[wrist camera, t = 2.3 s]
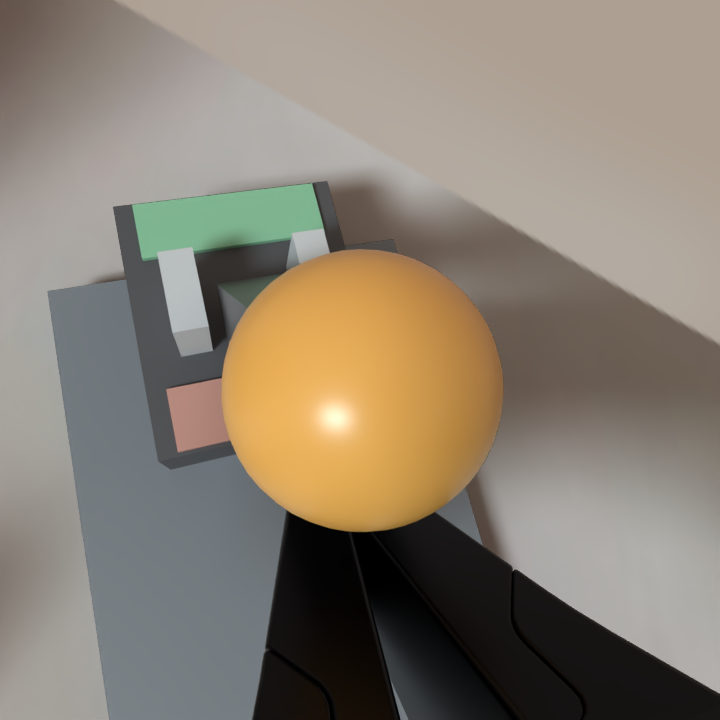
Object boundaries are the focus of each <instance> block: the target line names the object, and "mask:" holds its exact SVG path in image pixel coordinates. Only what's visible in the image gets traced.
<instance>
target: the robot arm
mask: <svg viewBox="0 0 720 720" xmlns="http://www.w3.org/2000/svg"><path fill="white" fill-rule="evenodd" d="M390 679H391V680H390ZM391 682H392V684H393V686H394V688H395V691H396V693H397V695H398V697H399V700H400V702H401V704H402V706H403V709H404V711H405V713H406V715H407V718H408V720H720V694H719V693H717V692H716V691H714V690H712V689H710V688H708V687H707V686H705V685H703V684H702V683H700V682H698V681H696V680H695V679H693V678H691V677H689V676H688V675H686V674H684V673H682V672H681V671H679V670H677V669H676V668H674V667H672V666H670V665H669V664H667V663H665V662H663V661H662V660H660V659H658V658H656V657H655V656H653V655H651V654H650V653H648V652H646V651H644V650H643V649H641V648H639V647H637V646H636V645H634V644H632V643H631V642H629V641H627V640H625V639H624V638H622V637H620V636H618V635H617V634H615V633H613V632H612V631H610V630H608V629H607V628H605V627H603V626H602V625H600V624H598V623H597V622H595V621H593V620H592V619H590V618H589V617H587V616H585V615H584V614H582V613H580V612H579V611H577V610H575V609H574V608H572V607H571V606H569V605H568V604H566V603H565V602H563V601H562V600H560V599H559V598H557V597H556V596H554V595H553V594H551V593H550V592H548V591H547V590H545V589H544V588H542V587H541V586H539V585H538V584H537V583H535V582H534V581H532V580H531V579H530V578H528V577H527V576H525V575H524V574H522V573H521V572H520V571H518V570H514V571H513V568H512V566H511V565H509V564H508V563H507V562H505V561H504V560H502V559H501V558H500V557H498V556H497V555H495V554H494V553H492V552H491V551H490V550H488V549H487V548H485V547H484V546H483V545H481V544H480V543H478V542H477V541H476V540H474V539H473V538H471V537H470V536H469V535H467V534H466V533H464V532H463V531H461V530H460V529H459V528H457V527H456V526H454V525H453V524H452V523H450V522H449V521H447V520H446V519H445V518H443V517H442V516H440V515H439V514H438V513H436V512H434V513H432V514H430V515H428V516H426V517H424V518H422V519H420V520H418V521H416V522H413V523H410V524H408V525H405V526H402V527H398V528H393V529H389V530H382V531H372V532H351V531H342V530H336V529H330V528H327V527H324V526H321V525H318V524H315V523H312V522H309V521H307V520H305V519H303V518H300V517H298V516H296V515H294V514H292V513H291V512H289V511H288V510H286V515H285V521H284V528H283V534H282V541H281V547H280V553H279V560H278V566H277V573H276V579H275V585H274V592H273V598H272V605H271V611H270V618H269V624H268V630H267V637H266V643H265V652H264V654H263V660H262V666H261V673H260V679H259V684H258V690H257V695H256V700H255V705H254V711H253V716H252V720H401V719H400V715H399V711H398V707H397V703H396V699H395V696H394V692H393V688H392V684H391Z"/></svg>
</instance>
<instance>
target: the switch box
mask: <svg viewBox="0 0 720 720" xmlns="http://www.w3.org/2000/svg"><path fill="white" fill-rule="evenodd" d="M113 209H114V215H115V221H116V226H117V232H118V238H119V243H120V249H121V255H122V260H123V266H124V272H125V277H126V279H124V280H118V281H111V282H105V283H98V284H91V285H85V286H78V287H71V288H65V289H58V290H52V291H48V298H49V305H50V312H51V319H52V326H53V332H54V339H55V346H56V353H57V360H58V367H59V374H60V381H61V388H62V395H63V402H64V409H65V416H66V423H67V430H68V437H69V444H70V450H71V457H72V464H73V471H74V478H75V485H76V492H77V499H78V506H79V513H80V520H81V527H82V534H83V541H84V548H85V555H86V561H87V568H88V575H89V582H90V589H91V596H92V603H93V610H94V617H95V624H96V631H97V638H98V645H99V652H100V659H101V666H102V673H103V679H104V686H105V693H106V700H107V707H108V714H109V720H252V716H253V711H254V705H255V700H256V695H257V690H258V684H259V679H260V673H261V666H262V660H263V654H264V652H265V643H266V637H267V630H268V624H269V618H270V611H271V605H272V598H273V592H274V585H275V579H276V573H277V566H278V560H279V553H280V547H281V541H282V534H283V528H284V521H285V515H286V509H285V508H283V507H282V506H280V505H279V504H277V503H276V502H275V501H274V500H273V499H272V498H271V497H269V496H268V495H267V494H266V493H265V492H264V491H263V490H262V489H260V488H259V486H258V485H257V484H256V483H255V482H254V481H253V479H252V478H251V477H250V476H249V475H248V473H247V472H246V470H245V468H244V467H243V465H242V463H241V462H240V460H239V459H238V456H237V454H236V452H235V450H234V448H233V445H232V443H231V441H230V439H229V436H228V432H227V429H226V425H225V422H224V417H223V409H222V402H221V382H222V373H223V366H224V360H225V356H226V353H227V349H228V341H227V336H226V331H225V325H224V320H223V315H222V310H221V305H220V300H219V295H218V290H217V285H216V284H219V283H225V282H231V281H238V280H244V279H250V278H256V277H263V276H269V275H275V274H283V273H285V272H286V271H288V270H290V269H291V268H293V267H295V266H297V265H299V264H301V263H303V262H305V261H308V260H310V259H313V258H316V257H318V256H321V255H324V254H329V253H333V252H337V251H342V250H355V249H367V250H380V251H386V252H391V253H396V254H398V253H397V250H396V247H395V243H394V240H393V239H390V240H383V241H376V242H370V243H363V244H357V245H350V246H344V242H343V239H342V235H341V231H340V228H339V224H338V220H337V217H336V213H335V209H334V205H333V202H332V198H331V194H330V191H329V187H328V183H327V181H324V182H316V183H308V184H299V185H291V186H283V187H274V188H266V189H258V190H249V191H241V192H232V193H224V194H216V195H207V196H199V197H191V198H182V199H174V200H166V201H157V202H149V203H141V204H132V205H124V206H115V207H113ZM435 512H436V513H438V514H439V515H440V516H442V517H443V518H445V519H446V520H447V521H449V522H450V523H452V524H453V525H454V526H456V527H457V528H459V529H460V530H461V531H463V532H464V533H466V534H467V535H469V536H470V537H471V538H473V539H474V540H476V541H477V542H478V543H480V544H481V545H483V544H482V541H481V538H480V534H479V531H478V527H477V524H476V520H475V517H474V514H473V510H472V507H471V503H470V500H469V496H468V493H467V490H466V487H465V488H464V489H463V490H462V491H461V492H460V493H459V494H458V495H457V496H456V497H454V498H453V499H452V500H451V501H450V502H448V503H447V504H446V505H444V506H443V507H441V508H440V509H438V510H437V511H435ZM390 680H391V679H390ZM391 684H392V682H391ZM392 688H393V692H394V696H395V699H396V703H397V707H398V711H399V715H400V719H401V720H408V718H407V715H406V713H405V711H404V709H403V706H402V704H401V702H400V700H399V697H398V695H397V693H396V691H395V688H394V686H393V684H392Z"/></svg>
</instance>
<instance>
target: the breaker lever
mask: <svg viewBox="0 0 720 720" xmlns="http://www.w3.org/2000/svg"><path fill="white" fill-rule="evenodd" d="M216 285H217V290H218V295H219V300H220V305H221V310H222V315H223V320H224V325H225V331H226V336H227V341H228V349H227V353H226V356H225V360H224V366H223V373H222V382H221V402H222V409H223V417H224V422H225V425H226V429H227V432H228V436H229V439H230V441H231V443H232V445H233V448H234V450H235V452H236V454H237V456H238V459H239V460H240V462H241V463H242V465H243V467H244V468H245V470H246V472H247V473H248V475H249V476H250V477H251V478H252V479H253V481H254V482H255V483H256V484H257V485H258V486H259V488H260V489H262V490H263V491H264V492H265V493H266V494H267V495H268V496H269V497H271V498H272V499H273V500H274V501H275V502H276V503H277V504H279V505H280V506H282V507H283V508H285V509H286V510H288V511H289V512H291V513H292V514H294V515H296V516H298V517H300V518H303V519H305V520H307V521H309V522H312V523H315V524H318V525H321V526H324V527H327V528H330V529H336V530H342V531H351V532H372V531H382V530H389V529H393V528H398V527H402V526H405V525H408V524H410V523H413V522H416V521H418V520H420V519H422V518H424V517H426V516H428V515H430V514H432V513H434V512H435V511H437V510H438V509H440V508H441V507H443V506H444V505H446V504H447V503H448V502H450V501H451V500H452V499H453V498H454V497H456V496H457V495H458V494H459V493H460V492H461V491H462V490H463V489H464V488H465V487H466V486H467V485H468V484H469V483H470V481H471V480H472V479H473V478H474V476H475V475H476V474H477V472H478V471H479V469H480V468H481V466H482V464H483V463H484V461H485V460H486V458H487V456H488V454H489V452H490V449H491V447H492V445H493V443H494V440H495V437H496V434H497V430H498V427H499V424H500V419H501V414H502V407H503V396H504V389H503V374H502V368H501V362H500V358H499V355H498V351H497V348H496V344H495V341H494V338H493V336H492V334H491V332H490V329H489V327H488V325H487V323H486V322H485V320H484V318H483V317H482V315H481V313H480V312H479V310H478V309H477V308H476V307H475V305H474V304H473V303H472V302H471V300H470V299H469V298H468V297H467V295H466V294H465V293H464V292H463V291H462V290H461V289H460V288H459V287H458V286H457V285H456V284H455V283H453V282H452V281H451V280H450V279H448V278H447V277H445V276H444V275H443V274H441V273H440V272H438V271H437V270H435V269H433V268H431V267H429V266H427V265H426V264H424V263H422V262H420V261H418V260H415V259H412V258H410V257H407V256H404V255H401V254H396V253H391V252H386V251H380V250H367V249H355V250H342V251H337V252H333V253H329V254H324V255H321V256H318V257H316V258H313V259H310V260H308V261H305V262H303V263H301V264H299V265H297V266H295V267H293V268H291V269H290V270H288V271H286V272H285V273H283V274H275V275H269V276H263V277H256V278H250V279H244V280H238V281H231V282H225V283H219V284H216Z"/></svg>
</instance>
